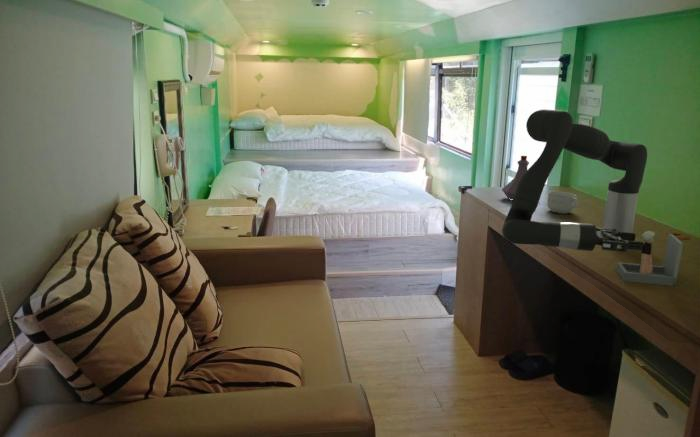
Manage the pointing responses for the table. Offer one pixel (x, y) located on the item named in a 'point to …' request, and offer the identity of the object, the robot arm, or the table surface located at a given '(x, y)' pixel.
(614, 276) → the table surface
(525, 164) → the flask
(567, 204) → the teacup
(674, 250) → the case
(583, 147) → the robot arm
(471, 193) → the table surface
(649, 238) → the grandmother figurine
